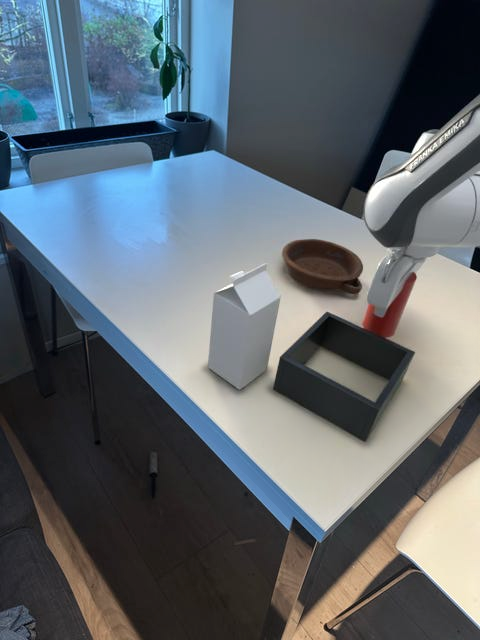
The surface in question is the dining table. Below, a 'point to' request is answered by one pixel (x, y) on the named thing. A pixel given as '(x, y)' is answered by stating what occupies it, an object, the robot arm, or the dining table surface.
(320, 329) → the open box
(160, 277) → the dining table surface
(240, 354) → the milk carton
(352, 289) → the dish
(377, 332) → the can
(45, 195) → the dining table surface
